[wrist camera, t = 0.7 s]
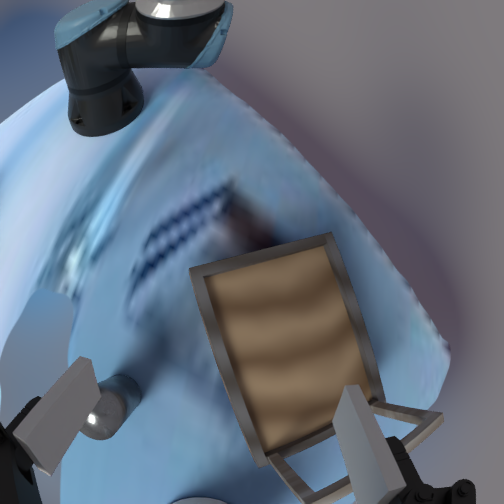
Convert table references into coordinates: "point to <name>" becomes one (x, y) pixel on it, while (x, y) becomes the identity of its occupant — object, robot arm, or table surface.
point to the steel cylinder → (112, 407)
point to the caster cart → (293, 352)
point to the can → (199, 501)
